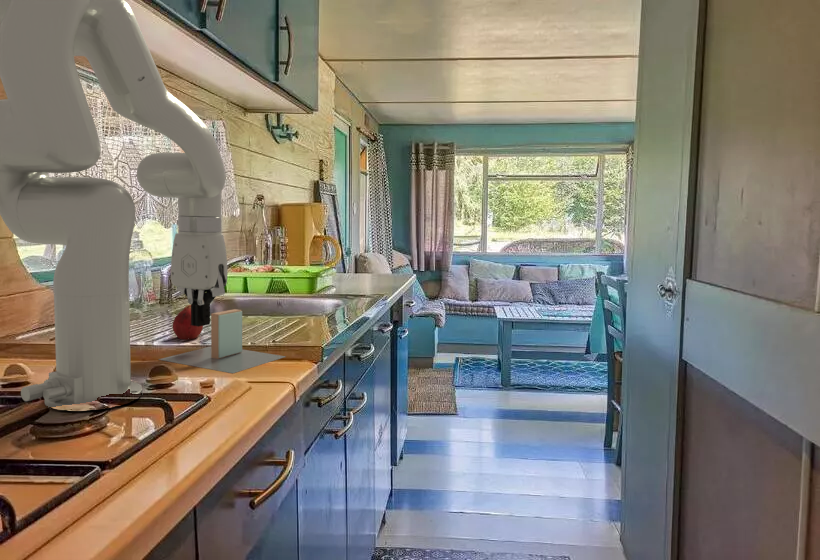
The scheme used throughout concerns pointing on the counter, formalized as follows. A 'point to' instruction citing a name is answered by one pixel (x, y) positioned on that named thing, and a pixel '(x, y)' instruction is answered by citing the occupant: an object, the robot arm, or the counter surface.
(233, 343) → the tile
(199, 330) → the onion
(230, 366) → the slate board
